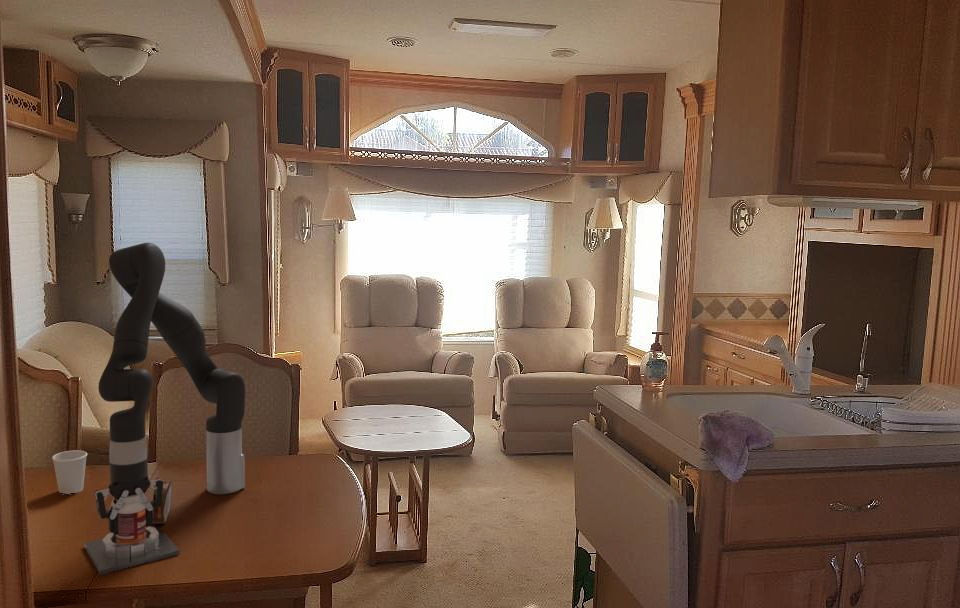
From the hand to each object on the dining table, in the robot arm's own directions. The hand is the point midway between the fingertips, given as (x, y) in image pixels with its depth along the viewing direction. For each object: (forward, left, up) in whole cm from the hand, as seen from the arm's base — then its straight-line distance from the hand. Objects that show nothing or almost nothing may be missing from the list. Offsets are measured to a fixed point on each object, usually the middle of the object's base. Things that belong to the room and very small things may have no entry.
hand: (131, 529), depth 162 cm
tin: (-11, -15, -5) cm, 19 cm away
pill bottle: (0, 0, -3) cm, 3 cm away
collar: (0, 0, -5) cm, 5 cm away
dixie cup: (+4, -47, -5) cm, 47 cm away
